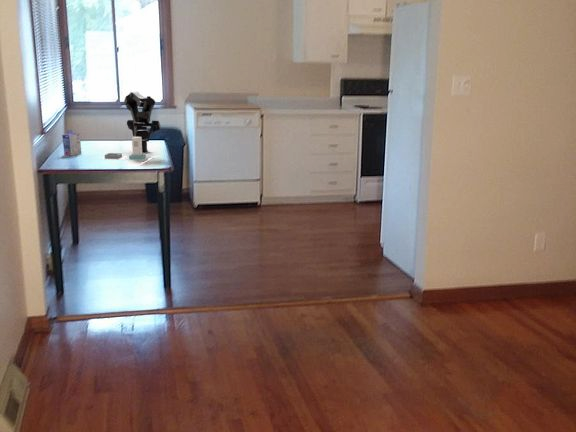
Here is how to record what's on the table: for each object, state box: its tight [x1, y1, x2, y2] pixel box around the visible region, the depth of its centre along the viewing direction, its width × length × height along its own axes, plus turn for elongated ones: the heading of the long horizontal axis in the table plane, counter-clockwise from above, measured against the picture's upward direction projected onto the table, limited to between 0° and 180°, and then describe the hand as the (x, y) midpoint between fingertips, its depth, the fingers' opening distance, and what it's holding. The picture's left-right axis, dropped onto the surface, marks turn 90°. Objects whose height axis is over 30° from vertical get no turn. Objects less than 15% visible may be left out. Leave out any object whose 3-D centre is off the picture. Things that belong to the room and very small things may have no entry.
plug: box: [131, 136, 143, 156], centre depth 348 cm, size 5×4×12 cm
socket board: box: [101, 152, 150, 163], centre depth 350 cm, size 24×12×3 cm, turn 87°
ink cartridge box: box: [61, 129, 82, 157], centre depth 363 cm, size 10×6×14 cm, turn 161°
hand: (141, 136), depth 356 cm, fingers open, 9 cm apart
